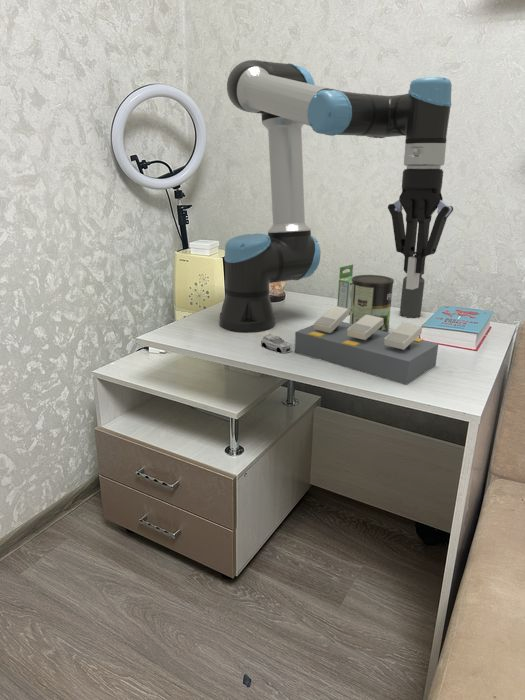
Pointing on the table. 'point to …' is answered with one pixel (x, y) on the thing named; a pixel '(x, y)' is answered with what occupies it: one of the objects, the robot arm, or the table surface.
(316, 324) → the rocker left
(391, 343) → the rocker right
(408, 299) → the bottle
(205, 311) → the table surface
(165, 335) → the table surface
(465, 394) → the table surface
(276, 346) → the toy car
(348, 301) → the ink box
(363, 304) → the coffee can
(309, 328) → the switch unit
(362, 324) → the rocker mid
